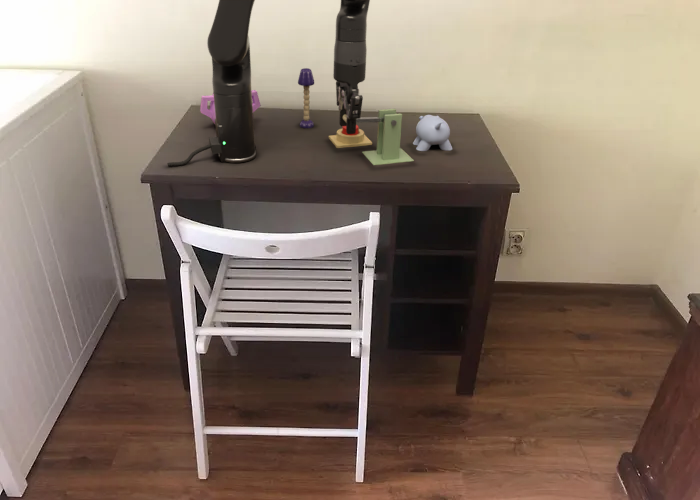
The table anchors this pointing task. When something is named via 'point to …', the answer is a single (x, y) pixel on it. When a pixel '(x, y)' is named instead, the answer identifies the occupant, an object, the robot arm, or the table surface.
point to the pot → (211, 112)
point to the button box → (349, 139)
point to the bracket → (388, 141)
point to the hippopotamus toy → (432, 133)
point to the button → (350, 134)
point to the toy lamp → (306, 95)
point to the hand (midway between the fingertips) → (347, 129)
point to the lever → (367, 119)
